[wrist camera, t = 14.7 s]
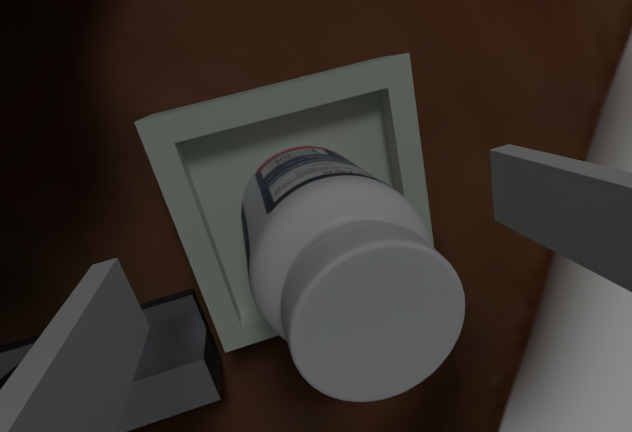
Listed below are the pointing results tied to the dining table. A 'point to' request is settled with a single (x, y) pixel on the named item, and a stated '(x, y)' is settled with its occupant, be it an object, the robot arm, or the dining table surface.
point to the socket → (161, 362)
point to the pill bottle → (347, 275)
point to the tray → (264, 141)
